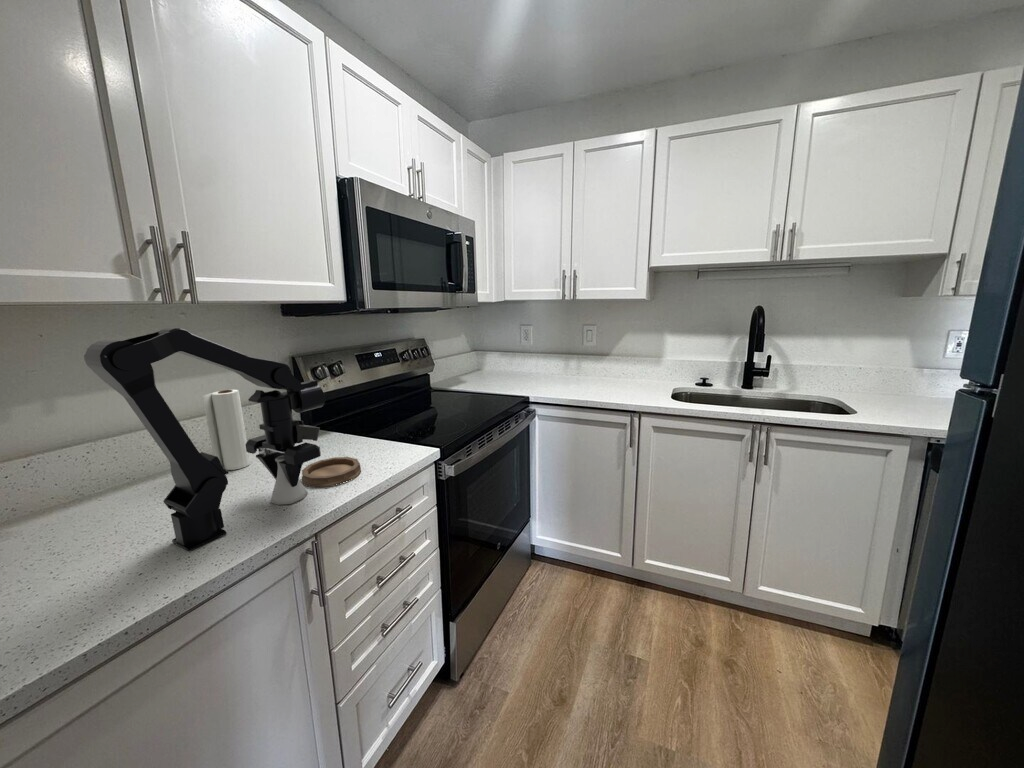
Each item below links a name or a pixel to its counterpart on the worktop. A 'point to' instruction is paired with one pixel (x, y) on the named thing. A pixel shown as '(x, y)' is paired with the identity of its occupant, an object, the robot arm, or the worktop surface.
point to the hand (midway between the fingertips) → (287, 484)
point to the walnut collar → (330, 471)
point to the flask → (286, 488)
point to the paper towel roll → (227, 428)
